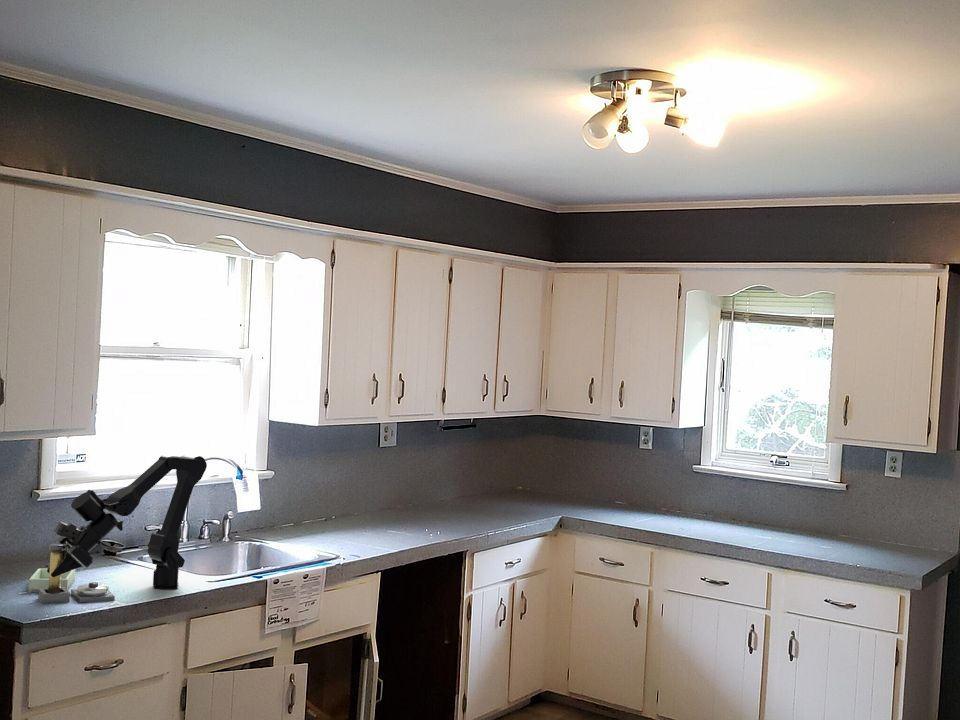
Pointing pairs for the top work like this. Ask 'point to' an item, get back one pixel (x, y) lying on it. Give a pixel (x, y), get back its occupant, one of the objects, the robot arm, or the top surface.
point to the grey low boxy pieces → (78, 594)
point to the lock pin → (54, 562)
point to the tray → (42, 580)
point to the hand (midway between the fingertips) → (49, 574)
